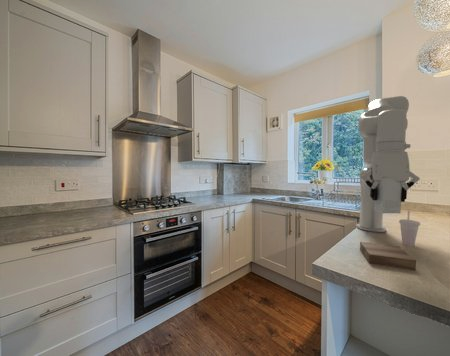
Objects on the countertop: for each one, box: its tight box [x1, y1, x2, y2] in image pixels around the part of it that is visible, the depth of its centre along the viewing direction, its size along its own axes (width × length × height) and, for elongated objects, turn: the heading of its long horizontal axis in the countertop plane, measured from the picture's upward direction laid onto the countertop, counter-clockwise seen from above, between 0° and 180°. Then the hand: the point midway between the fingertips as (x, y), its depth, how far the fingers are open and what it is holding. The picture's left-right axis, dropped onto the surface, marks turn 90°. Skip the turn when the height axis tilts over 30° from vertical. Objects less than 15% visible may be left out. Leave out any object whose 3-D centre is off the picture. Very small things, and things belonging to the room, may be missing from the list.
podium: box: [359, 241, 417, 271], centre depth 70 cm, size 12×12×3 cm
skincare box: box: [374, 178, 402, 214], centre depth 69 cm, size 6×4×12 cm
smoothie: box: [398, 210, 421, 247], centre depth 83 cm, size 6×6×14 cm
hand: (387, 200), depth 69 cm, fingers closed on skincare box, 7 cm apart
